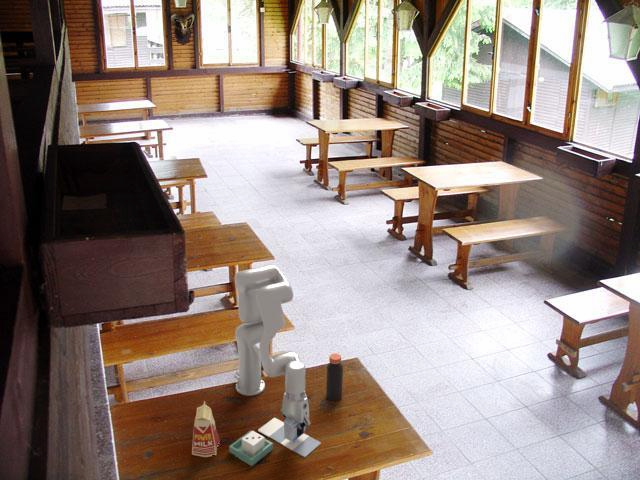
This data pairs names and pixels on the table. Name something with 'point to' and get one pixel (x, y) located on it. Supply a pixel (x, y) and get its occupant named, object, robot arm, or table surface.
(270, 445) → the dice tray
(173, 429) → the table surface
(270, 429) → the track
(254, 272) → the robot arm
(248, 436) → the die
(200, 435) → the milk carton
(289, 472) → the table surface
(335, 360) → the bottle
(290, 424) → the medicine box
